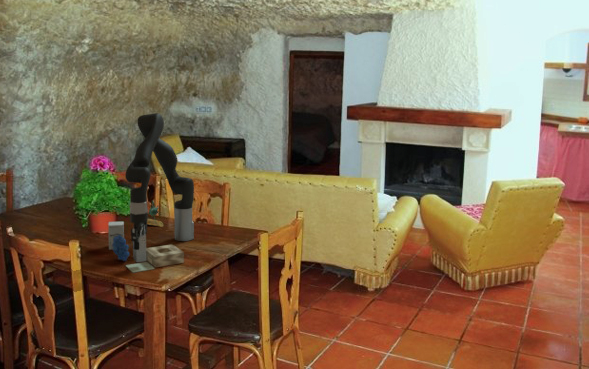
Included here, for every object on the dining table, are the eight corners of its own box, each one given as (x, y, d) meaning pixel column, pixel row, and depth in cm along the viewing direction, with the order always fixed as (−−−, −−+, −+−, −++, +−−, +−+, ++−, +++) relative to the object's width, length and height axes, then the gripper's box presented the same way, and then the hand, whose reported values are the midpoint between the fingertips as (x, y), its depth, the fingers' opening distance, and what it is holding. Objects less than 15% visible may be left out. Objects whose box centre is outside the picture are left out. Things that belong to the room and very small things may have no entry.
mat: (146, 262, 273) (146, 261, 273) (154, 269, 265) (154, 268, 265) (125, 266, 268) (125, 265, 267) (133, 272, 259) (132, 271, 259)
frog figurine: (147, 219, 348) (149, 195, 344) (169, 228, 338) (171, 204, 334) (135, 222, 340) (136, 198, 336) (156, 231, 330) (158, 206, 327)
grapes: (105, 259, 276) (105, 234, 274) (118, 256, 281) (117, 231, 279) (120, 265, 269) (119, 239, 266) (132, 261, 274) (132, 236, 271)
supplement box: (108, 250, 289) (107, 225, 287) (109, 245, 296) (108, 221, 294) (124, 249, 291) (123, 224, 289) (124, 244, 298) (123, 220, 296)
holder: (172, 254, 286) (172, 244, 285) (183, 262, 275) (183, 252, 274) (144, 258, 278) (144, 248, 278) (155, 267, 267) (155, 256, 266)
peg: (142, 258, 269) (142, 232, 266) (146, 260, 265) (146, 235, 263) (133, 259, 266) (132, 234, 264) (136, 262, 263) (136, 236, 260)
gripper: (136, 207, 268) (137, 242, 272) (124, 214, 254) (125, 251, 258) (152, 207, 268) (153, 243, 271) (141, 215, 254) (141, 252, 257)
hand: (139, 247), depth 264 cm, fingers closed on peg, 6 cm apart
